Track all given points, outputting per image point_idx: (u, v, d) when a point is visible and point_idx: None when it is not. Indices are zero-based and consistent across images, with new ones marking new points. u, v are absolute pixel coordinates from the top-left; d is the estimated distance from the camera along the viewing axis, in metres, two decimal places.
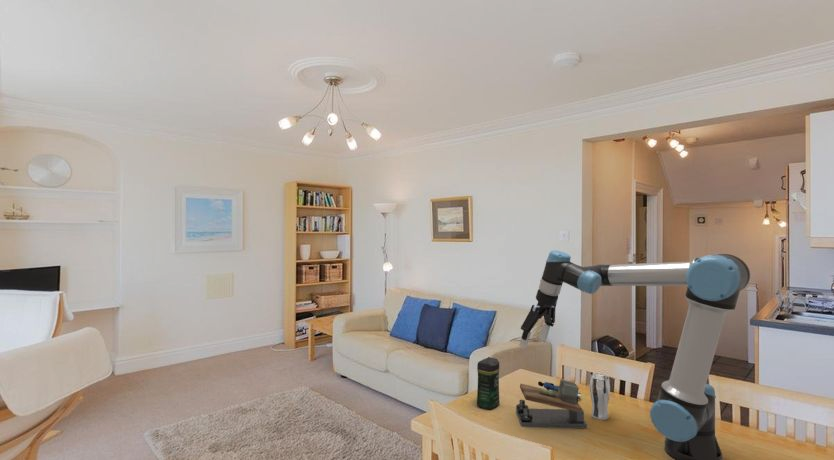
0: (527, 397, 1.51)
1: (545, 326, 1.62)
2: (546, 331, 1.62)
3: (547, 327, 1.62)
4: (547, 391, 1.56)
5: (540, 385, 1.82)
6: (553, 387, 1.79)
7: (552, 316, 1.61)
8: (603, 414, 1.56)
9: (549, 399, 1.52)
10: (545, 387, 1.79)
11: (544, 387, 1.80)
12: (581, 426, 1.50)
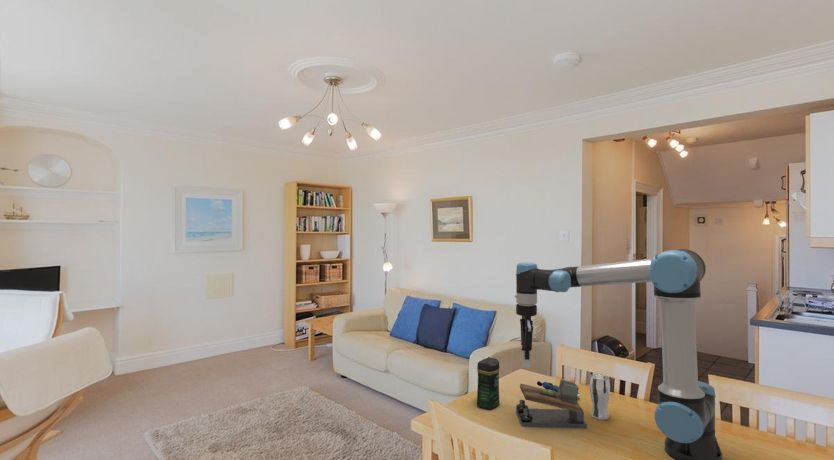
0: (527, 397, 1.51)
1: None
2: None
3: None
4: (547, 391, 1.56)
5: (539, 385, 1.83)
6: (552, 387, 1.79)
7: None
8: (603, 414, 1.56)
9: (549, 399, 1.52)
10: (544, 387, 1.79)
11: (543, 386, 1.80)
12: (581, 426, 1.50)
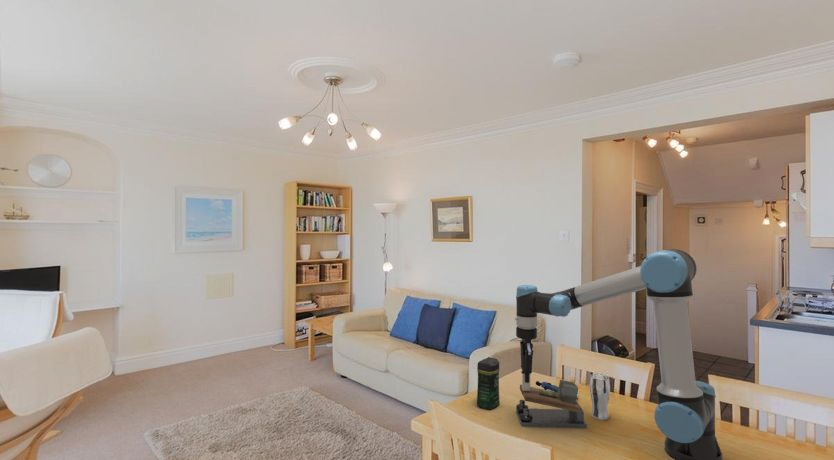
0: (527, 398, 1.51)
1: None
2: None
3: None
4: (547, 392, 1.56)
5: (538, 385, 1.83)
6: (550, 387, 1.79)
7: None
8: (603, 414, 1.56)
9: (548, 400, 1.52)
10: (543, 387, 1.80)
11: (542, 387, 1.80)
12: (581, 426, 1.50)
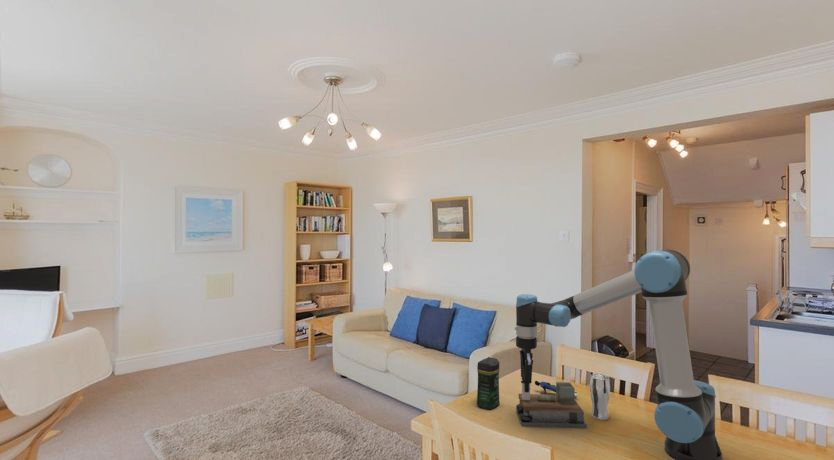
0: (525, 408, 1.51)
1: None
2: None
3: None
4: (545, 397, 1.56)
5: (537, 384, 1.83)
6: (549, 386, 1.80)
7: None
8: (603, 414, 1.56)
9: (547, 405, 1.52)
10: (542, 386, 1.80)
11: (541, 386, 1.80)
12: (581, 426, 1.50)
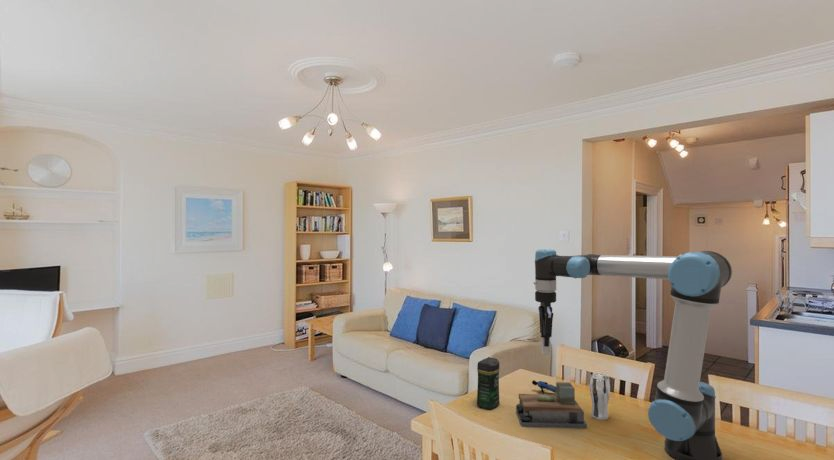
0: (525, 408, 1.51)
1: None
2: None
3: None
4: (545, 397, 1.56)
5: (534, 384, 1.84)
6: (547, 386, 1.80)
7: None
8: (603, 414, 1.56)
9: (547, 405, 1.52)
10: (539, 386, 1.80)
11: (538, 386, 1.81)
12: (581, 426, 1.50)
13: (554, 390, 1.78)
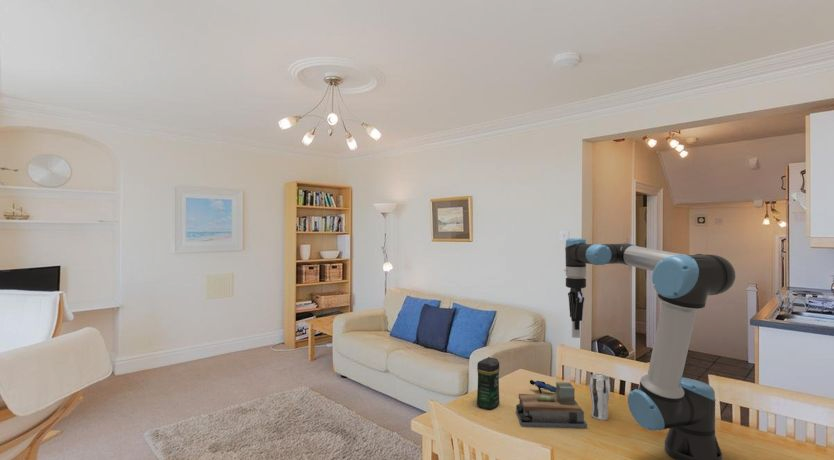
0: (525, 408, 1.51)
1: None
2: None
3: None
4: (545, 397, 1.56)
5: (532, 383, 1.84)
6: (544, 385, 1.81)
7: None
8: (603, 414, 1.56)
9: (547, 405, 1.52)
10: (536, 385, 1.81)
11: (535, 385, 1.82)
12: (581, 426, 1.50)
13: (551, 389, 1.79)
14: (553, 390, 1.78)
